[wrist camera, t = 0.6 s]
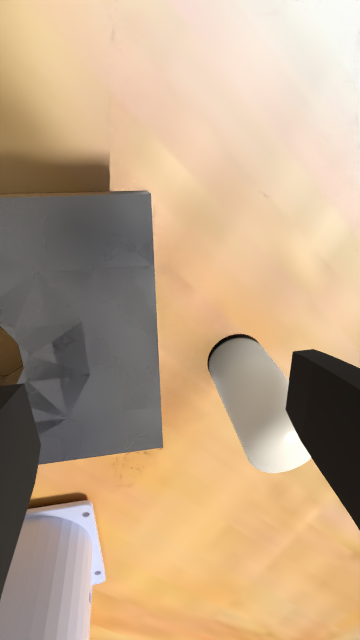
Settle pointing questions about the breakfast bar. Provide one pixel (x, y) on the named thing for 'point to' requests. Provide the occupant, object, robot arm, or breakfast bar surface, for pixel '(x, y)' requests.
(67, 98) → the breakfast bar surface
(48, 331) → the socket plate
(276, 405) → the peg
